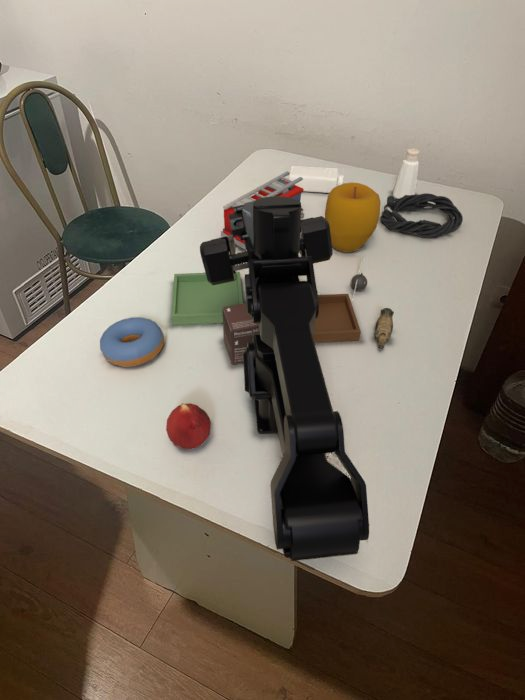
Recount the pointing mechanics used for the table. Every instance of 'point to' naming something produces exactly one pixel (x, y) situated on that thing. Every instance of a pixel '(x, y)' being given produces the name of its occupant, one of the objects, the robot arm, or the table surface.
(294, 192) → the toy fire truck
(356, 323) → the walnut tray
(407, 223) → the cable
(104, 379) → the table surface
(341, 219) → the apple
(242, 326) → the box
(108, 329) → the doughnut
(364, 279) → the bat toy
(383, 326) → the cat figurine
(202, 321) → the produce tray
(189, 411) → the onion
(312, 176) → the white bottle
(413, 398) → the table surface
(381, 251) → the table surface
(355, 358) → the table surface
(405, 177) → the pepper shaker
